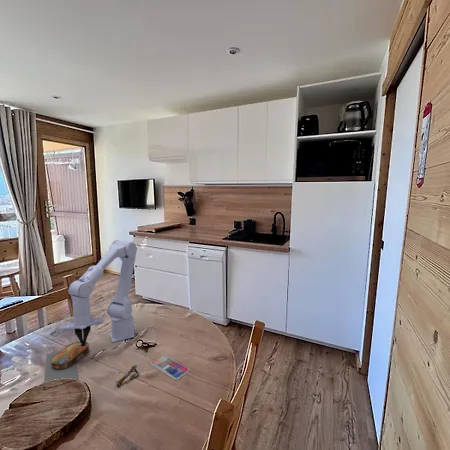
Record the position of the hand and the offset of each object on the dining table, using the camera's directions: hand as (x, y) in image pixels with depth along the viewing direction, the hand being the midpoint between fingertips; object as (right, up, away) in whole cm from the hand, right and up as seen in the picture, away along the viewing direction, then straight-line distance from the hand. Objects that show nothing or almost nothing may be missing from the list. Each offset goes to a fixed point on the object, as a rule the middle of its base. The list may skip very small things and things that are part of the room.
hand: (83, 344), depth 101 cm
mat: (-6, -7, -3) cm, 10 cm away
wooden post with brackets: (+21, -8, -10) cm, 25 cm away
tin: (-1, -5, 0) cm, 5 cm away
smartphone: (+34, -8, -2) cm, 35 cm away
